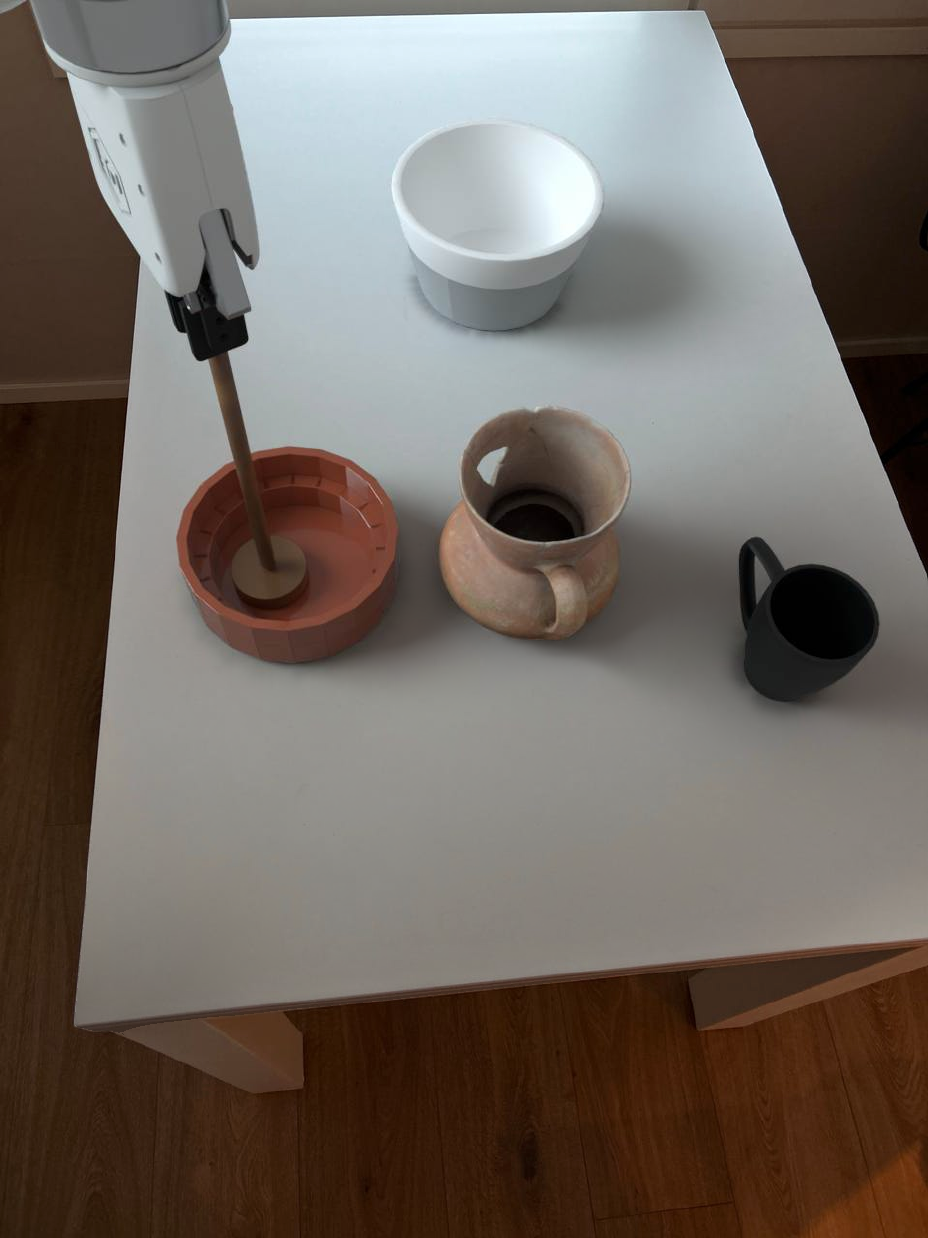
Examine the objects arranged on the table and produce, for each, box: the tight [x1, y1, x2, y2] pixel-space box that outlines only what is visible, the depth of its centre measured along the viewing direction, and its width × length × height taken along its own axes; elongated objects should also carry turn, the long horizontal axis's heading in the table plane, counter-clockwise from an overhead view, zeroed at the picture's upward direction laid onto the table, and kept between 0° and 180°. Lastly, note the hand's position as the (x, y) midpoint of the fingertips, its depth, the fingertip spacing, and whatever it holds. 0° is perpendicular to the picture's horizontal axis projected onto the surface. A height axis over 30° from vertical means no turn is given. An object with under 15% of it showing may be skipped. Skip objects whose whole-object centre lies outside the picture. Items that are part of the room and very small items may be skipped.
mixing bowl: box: [175, 445, 400, 664], centre depth 76 cm, size 17×17×6 cm
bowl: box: [390, 118, 605, 332], centre depth 91 cm, size 19×19×11 cm
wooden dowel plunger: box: [199, 271, 309, 609], centre depth 64 cm, size 6×6×32 cm
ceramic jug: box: [438, 404, 632, 641], centre depth 73 cm, size 18×14×14 cm
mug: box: [738, 536, 880, 703], centre depth 73 cm, size 8×12×10 cm
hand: (211, 334), depth 54 cm, fingers closed on wooden dowel plunger
